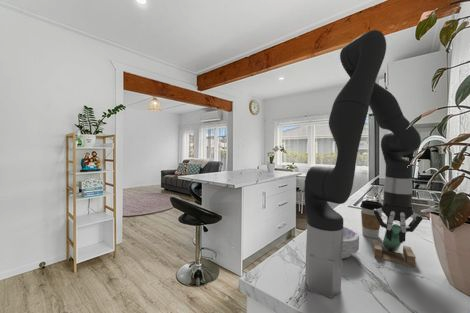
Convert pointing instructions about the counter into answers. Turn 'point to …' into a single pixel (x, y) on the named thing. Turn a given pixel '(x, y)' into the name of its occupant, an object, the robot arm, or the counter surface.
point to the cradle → (394, 254)
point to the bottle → (393, 239)
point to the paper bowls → (349, 242)
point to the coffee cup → (370, 219)
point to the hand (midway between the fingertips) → (395, 240)
